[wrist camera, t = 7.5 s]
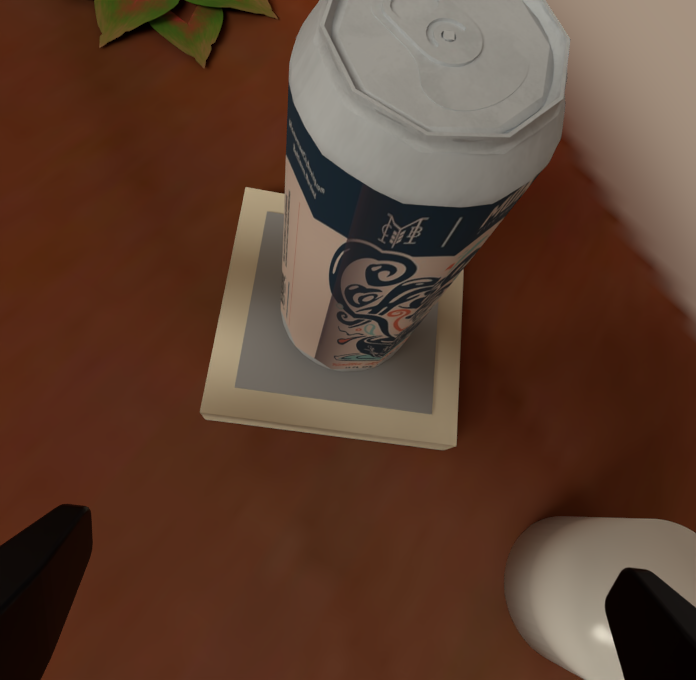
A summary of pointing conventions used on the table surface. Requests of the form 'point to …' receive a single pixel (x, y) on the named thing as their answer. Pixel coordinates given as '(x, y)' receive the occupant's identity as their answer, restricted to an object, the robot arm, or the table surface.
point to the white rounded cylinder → (588, 583)
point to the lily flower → (172, 21)
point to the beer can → (406, 158)
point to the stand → (315, 380)
